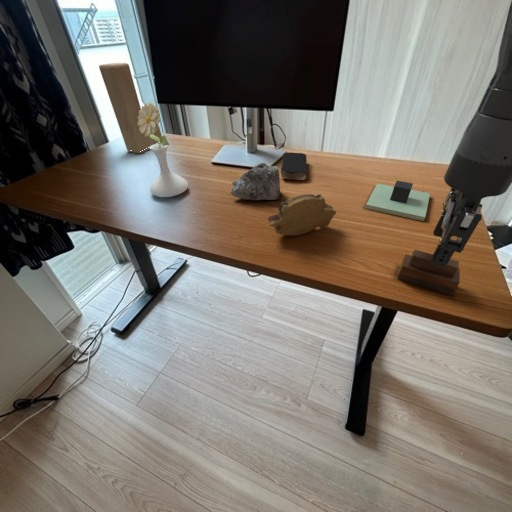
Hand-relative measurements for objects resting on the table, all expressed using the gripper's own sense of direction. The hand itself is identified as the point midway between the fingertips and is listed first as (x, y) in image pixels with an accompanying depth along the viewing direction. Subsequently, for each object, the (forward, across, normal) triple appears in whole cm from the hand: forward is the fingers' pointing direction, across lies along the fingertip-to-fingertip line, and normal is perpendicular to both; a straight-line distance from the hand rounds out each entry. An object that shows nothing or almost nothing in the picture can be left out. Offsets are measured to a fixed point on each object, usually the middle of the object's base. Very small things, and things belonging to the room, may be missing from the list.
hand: (438, 248), depth 45 cm
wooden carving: (+9, +5, +26) cm, 28 cm away
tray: (+8, +30, +8) cm, 32 cm away
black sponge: (+9, +38, +42) cm, 57 cm away
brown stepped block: (+8, +1, 0) cm, 8 cm away
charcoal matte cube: (+7, +30, +8) cm, 32 cm away
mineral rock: (+9, +16, +44) cm, 48 cm away
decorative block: (+10, +35, +110) cm, 116 cm away
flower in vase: (+9, +7, +69) cm, 70 cm away
